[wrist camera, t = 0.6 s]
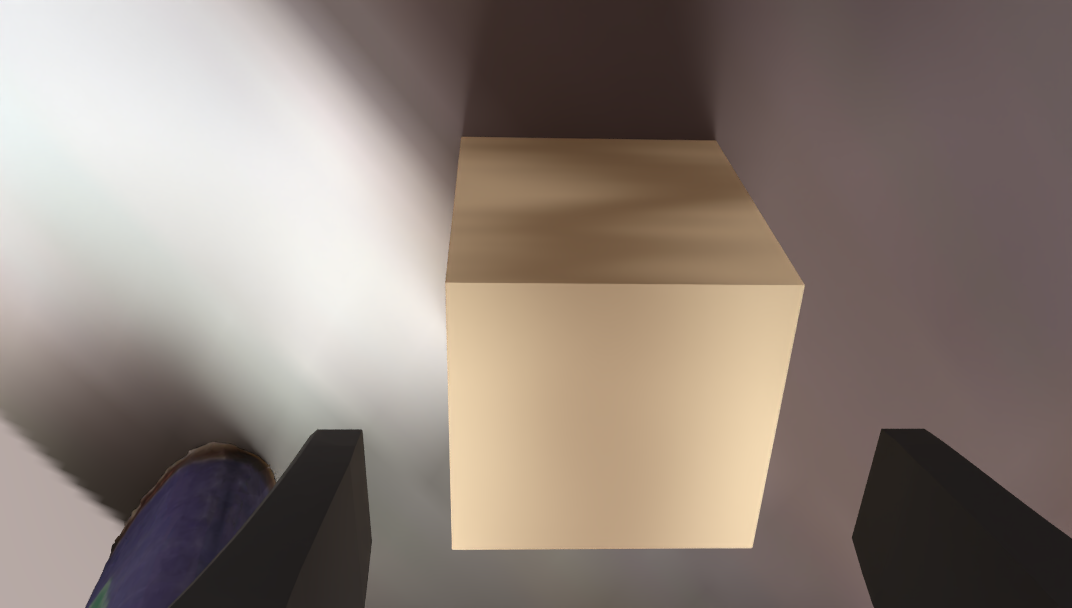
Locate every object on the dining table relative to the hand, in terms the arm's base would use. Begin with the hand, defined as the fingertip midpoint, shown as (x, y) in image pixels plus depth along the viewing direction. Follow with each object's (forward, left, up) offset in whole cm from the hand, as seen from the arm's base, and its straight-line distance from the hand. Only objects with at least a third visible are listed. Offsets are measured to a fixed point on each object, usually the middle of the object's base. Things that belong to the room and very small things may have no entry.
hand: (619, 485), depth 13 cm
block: (0, 0, -7) cm, 7 cm away
